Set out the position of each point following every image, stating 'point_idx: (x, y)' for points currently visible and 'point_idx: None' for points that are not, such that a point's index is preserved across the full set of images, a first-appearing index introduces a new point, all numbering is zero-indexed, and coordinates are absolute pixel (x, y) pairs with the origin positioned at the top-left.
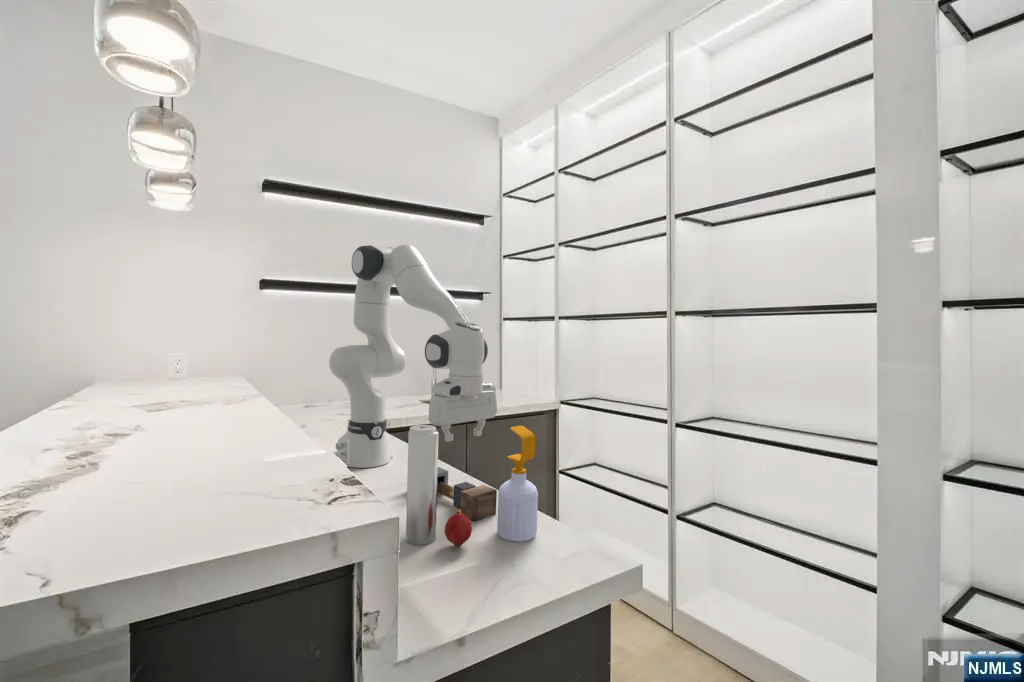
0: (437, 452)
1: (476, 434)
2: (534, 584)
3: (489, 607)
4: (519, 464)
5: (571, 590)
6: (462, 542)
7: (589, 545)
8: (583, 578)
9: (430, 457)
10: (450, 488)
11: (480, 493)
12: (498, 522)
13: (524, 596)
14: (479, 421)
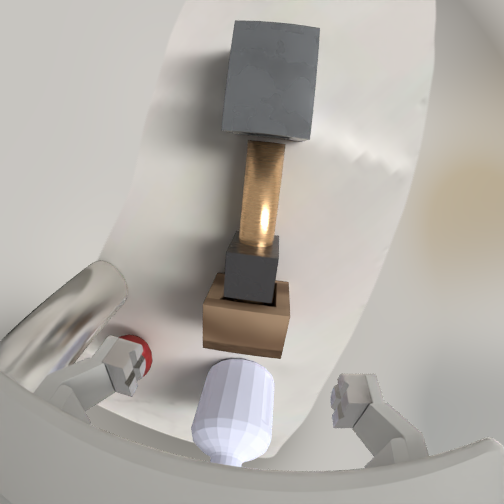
0: None
1: (334, 398)
2: (167, 422)
3: (115, 405)
4: None
5: (188, 440)
6: None
7: (281, 435)
8: None
9: None
10: (250, 208)
11: (231, 346)
12: (206, 382)
13: (147, 420)
14: (377, 459)
